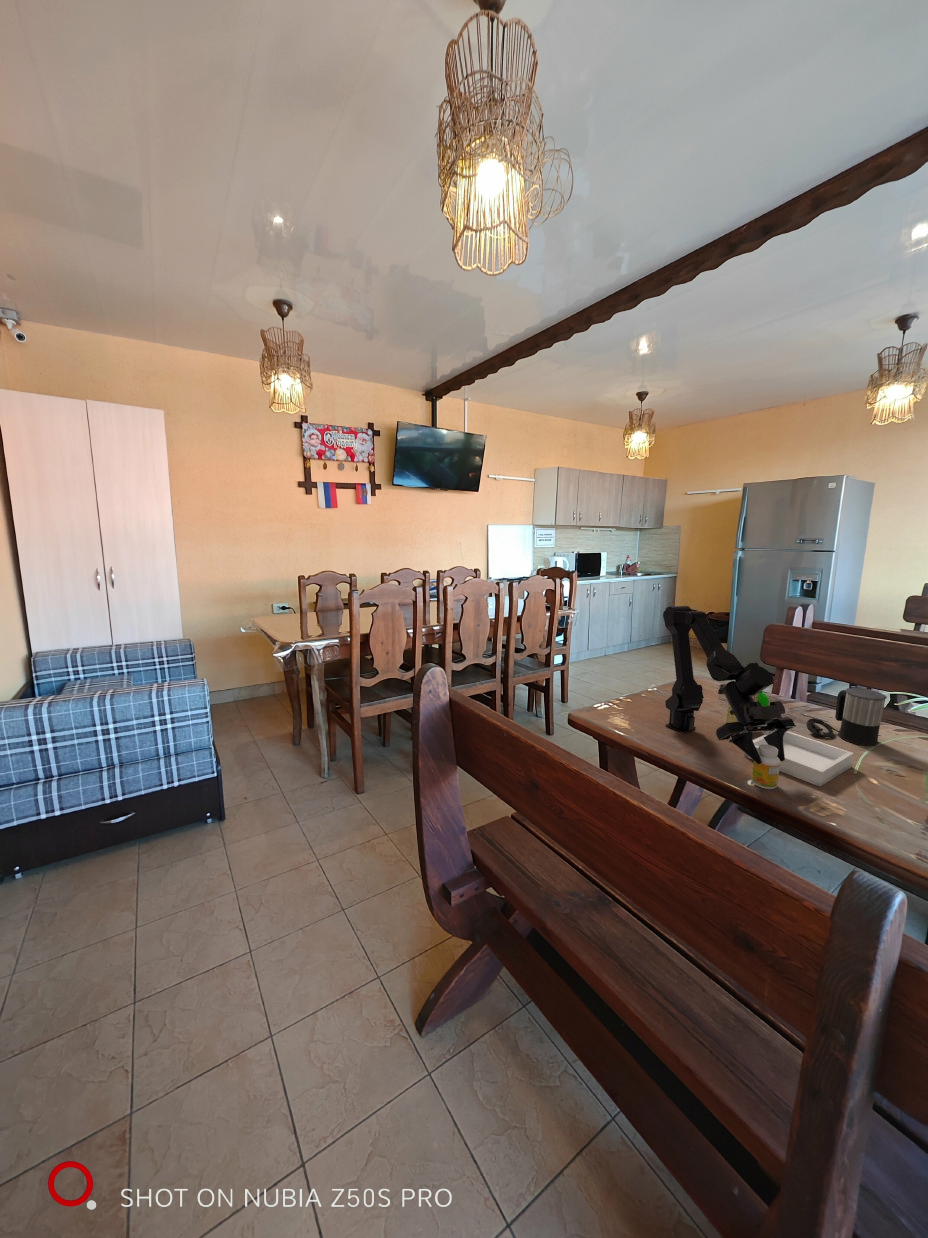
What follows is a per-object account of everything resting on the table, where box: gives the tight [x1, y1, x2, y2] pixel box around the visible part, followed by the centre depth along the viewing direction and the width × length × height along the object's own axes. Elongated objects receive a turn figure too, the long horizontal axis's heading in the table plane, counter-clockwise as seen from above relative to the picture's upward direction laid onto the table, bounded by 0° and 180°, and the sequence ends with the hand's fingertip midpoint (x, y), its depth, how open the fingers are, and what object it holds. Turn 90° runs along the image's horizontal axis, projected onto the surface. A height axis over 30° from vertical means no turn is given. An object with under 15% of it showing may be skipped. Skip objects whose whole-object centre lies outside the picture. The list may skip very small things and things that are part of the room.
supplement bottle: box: [751, 744, 780, 790], centre depth 113 cm, size 5×5×10 cm
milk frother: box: [805, 687, 888, 747], centre depth 137 cm, size 14×16×15 cm
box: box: [744, 730, 855, 788], centre depth 124 cm, size 18×18×4 cm
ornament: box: [757, 690, 770, 706], centre depth 156 cm, size 8×8×10 cm
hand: (771, 762), depth 111 cm, fingers open, 6 cm apart
